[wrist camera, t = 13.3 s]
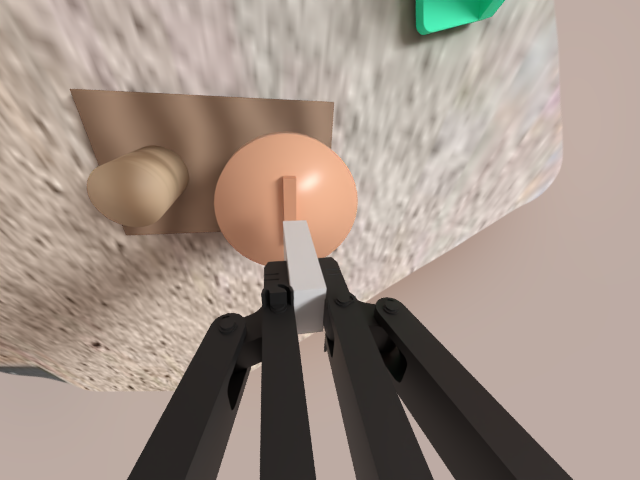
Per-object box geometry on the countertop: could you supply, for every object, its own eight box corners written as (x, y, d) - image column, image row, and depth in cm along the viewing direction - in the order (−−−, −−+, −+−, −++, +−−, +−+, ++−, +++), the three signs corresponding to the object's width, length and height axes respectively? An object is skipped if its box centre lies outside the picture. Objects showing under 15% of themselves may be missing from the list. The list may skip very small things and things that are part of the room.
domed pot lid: (231, 247, 27) (224, 277, 23) (213, 125, 21) (198, 134, 17) (339, 241, 29) (352, 268, 25) (350, 129, 23) (369, 138, 19)
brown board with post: (131, 229, 33) (87, 273, 25) (79, 89, 25) (-9, 87, 17) (323, 222, 38) (338, 258, 30) (331, 102, 30) (354, 105, 22)
